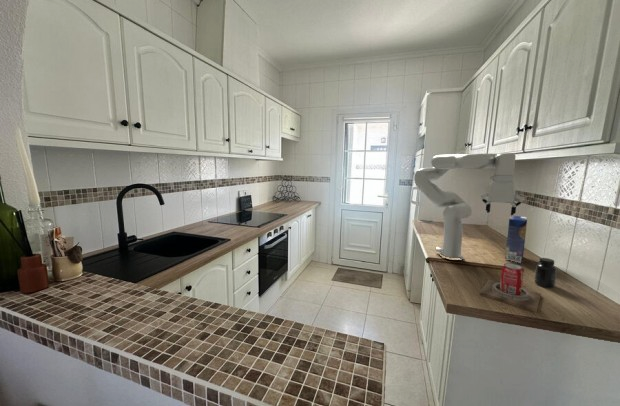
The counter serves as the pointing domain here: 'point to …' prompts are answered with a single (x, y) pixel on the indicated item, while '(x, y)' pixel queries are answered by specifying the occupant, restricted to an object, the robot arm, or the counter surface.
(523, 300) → the locating board
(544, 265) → the supplement bottle
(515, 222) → the juice carton
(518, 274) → the soda can
